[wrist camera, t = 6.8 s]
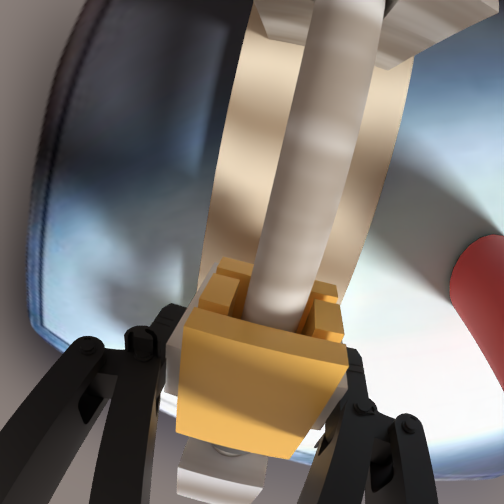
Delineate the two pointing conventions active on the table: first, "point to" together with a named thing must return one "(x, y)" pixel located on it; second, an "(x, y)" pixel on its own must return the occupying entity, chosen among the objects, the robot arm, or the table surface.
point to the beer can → (482, 297)
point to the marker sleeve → (257, 368)
